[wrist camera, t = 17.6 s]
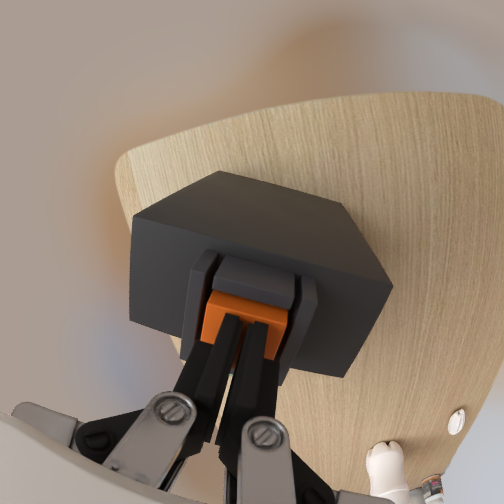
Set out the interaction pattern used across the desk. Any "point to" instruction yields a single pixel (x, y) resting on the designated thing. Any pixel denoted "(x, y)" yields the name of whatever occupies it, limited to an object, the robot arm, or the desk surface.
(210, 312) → the button
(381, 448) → the water bottle
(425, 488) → the pill bottle
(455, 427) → the white oval pebble
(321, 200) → the coffee maker
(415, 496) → the decorative ornament
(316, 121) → the desk surface
